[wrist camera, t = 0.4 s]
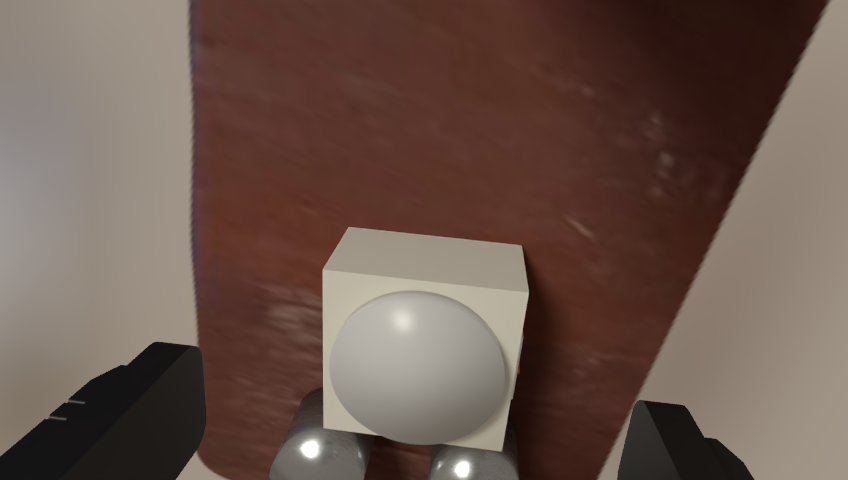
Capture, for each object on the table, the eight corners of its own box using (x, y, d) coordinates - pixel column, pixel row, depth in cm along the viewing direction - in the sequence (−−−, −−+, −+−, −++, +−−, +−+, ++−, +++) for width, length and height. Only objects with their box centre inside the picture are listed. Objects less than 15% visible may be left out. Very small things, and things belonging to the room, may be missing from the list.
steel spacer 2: (437, 398, 32) (429, 463, 28) (521, 409, 32) (527, 476, 27) (430, 461, 34) (422, 531, 30) (510, 472, 34) (514, 544, 29)
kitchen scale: (348, 226, 28) (317, 277, 23) (528, 246, 28) (538, 302, 22) (346, 367, 32) (319, 439, 27) (505, 387, 31) (509, 464, 26)
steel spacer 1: (297, 381, 33) (267, 442, 28) (379, 391, 33) (362, 454, 28) (299, 444, 35) (271, 510, 30) (376, 454, 35) (359, 522, 30)
